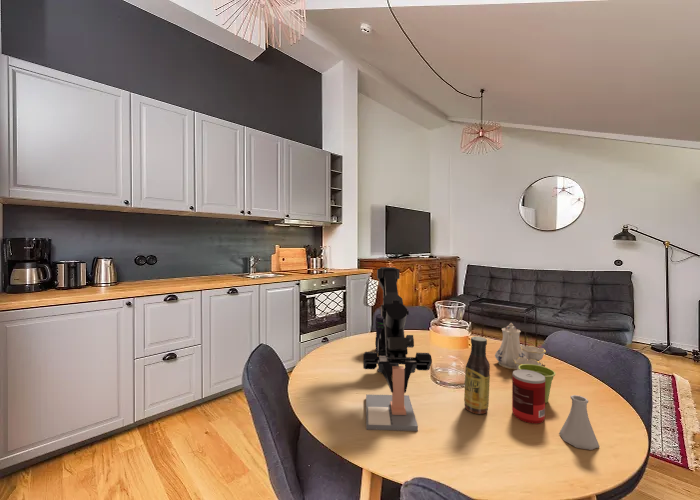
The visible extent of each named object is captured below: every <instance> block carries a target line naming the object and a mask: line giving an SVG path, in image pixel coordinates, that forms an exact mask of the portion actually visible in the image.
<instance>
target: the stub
mask: <svg viewBox="0 0 700 500" xmlns="http://www.w3.org/2000/svg"><path fill="white" fill-rule="evenodd" d="M404 369H405V365H403V366H400V365H399V366H392V375H391V377H392V383H393V393H392V392H391V395H392V401H390V404H391V410H392V415H406V409H405V405H404V395H405V393H404Z"/></svg>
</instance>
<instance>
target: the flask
mask: <svg viewBox="0 0 700 500" xmlns="http://www.w3.org/2000/svg"><path fill="white" fill-rule="evenodd" d="M570 400H571V407H570V410H569V413H568V415H567V418H566V420H565V421H564V423H563V425H562V427H561V429H560V430H559V433H558V434H559V435H560V437H561V439H562V440H563V442H564V441H565V442H566V443H568V444H569V445H571V446H572V447H575V448H576V449H584V450H590V451H592V450H596V449H597V448H600V444H599V442H598V439H597V437H596V435H595V432H594V429H593V426H592V423H591V420H590V418H589V414H588V409H587V408H588V407H587V405H588V403H589V400H588V398H586V397H584V396H581V395H576V394H573V395H570Z"/></svg>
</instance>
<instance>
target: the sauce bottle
mask: <svg viewBox="0 0 700 500" xmlns="http://www.w3.org/2000/svg"><path fill="white" fill-rule="evenodd" d="M470 344H471V345H470V346H471V347H470V349H471V350H470V354H469V357H468V360H467V362H466V365H465V372H464V373H465V375H464V377H465V378H464V398H463V400H464V401H463V402H464V407H465V409H466V410H467V411H468V412H470V413H472V414H476V415H484V414H486V413H488V411H489V403H490V381H491V380H490V379H491V377H490V376H491V375H490V370H491V363H490V362H489V360H488V359H487V353H486V352H487V344H488V340H487V339H486V338H485V337H482V336H472V337H471V338H470Z"/></svg>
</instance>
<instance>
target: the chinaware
mask: <svg viewBox="0 0 700 500" xmlns="http://www.w3.org/2000/svg"><path fill="white" fill-rule="evenodd" d="M501 330H502V340H501V344H500V347H499V348H498V349H497V351H496V352H495V354H494V357H495V359H496V360H497V361H498V365H499V366H500V367H502V368H505V369H508V370H519V368H518V367H519V365H522V364H533V365H539V366H543V363H541V362H540V361H542V359H543V358H544V356H545V354H546V349H545V348H544V347H537V346H535V345H528V346H526V345H521V343H520V333H521V332H522V331H521V330H520V329H517V327H516V326H514V324H513V323H512V322H510V323H509V324H508V325H506V327H503V328H501Z"/></svg>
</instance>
